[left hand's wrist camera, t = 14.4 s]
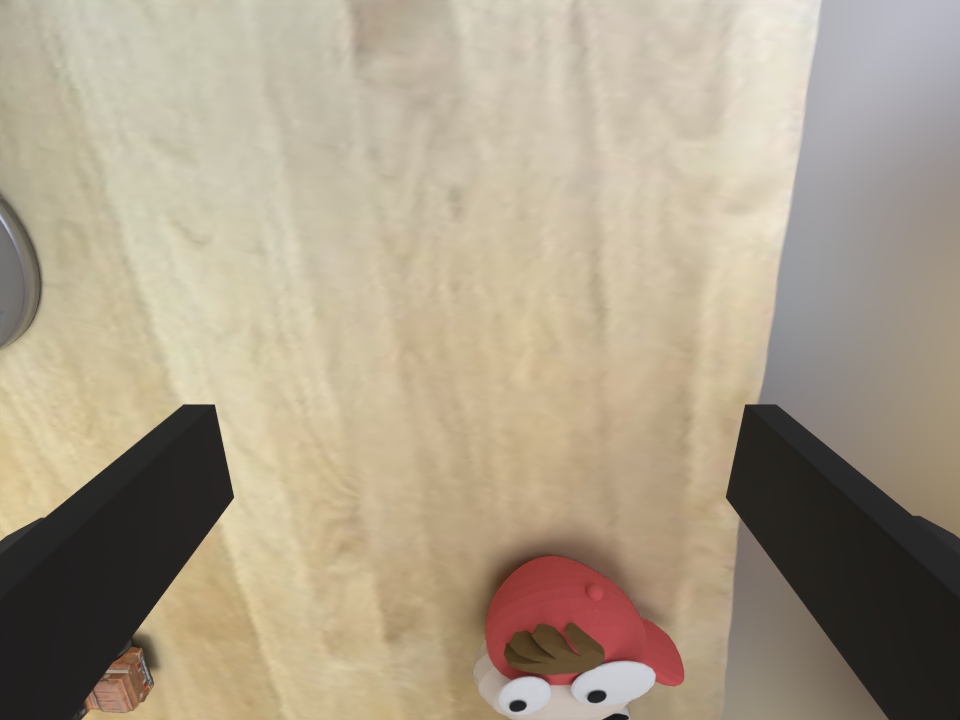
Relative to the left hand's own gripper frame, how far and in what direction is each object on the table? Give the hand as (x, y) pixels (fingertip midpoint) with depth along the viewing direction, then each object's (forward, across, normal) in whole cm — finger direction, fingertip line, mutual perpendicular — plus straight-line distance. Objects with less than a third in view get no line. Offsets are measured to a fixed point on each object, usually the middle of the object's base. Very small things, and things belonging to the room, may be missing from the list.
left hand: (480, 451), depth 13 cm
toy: (+25, +9, -39) cm, 47 cm away
